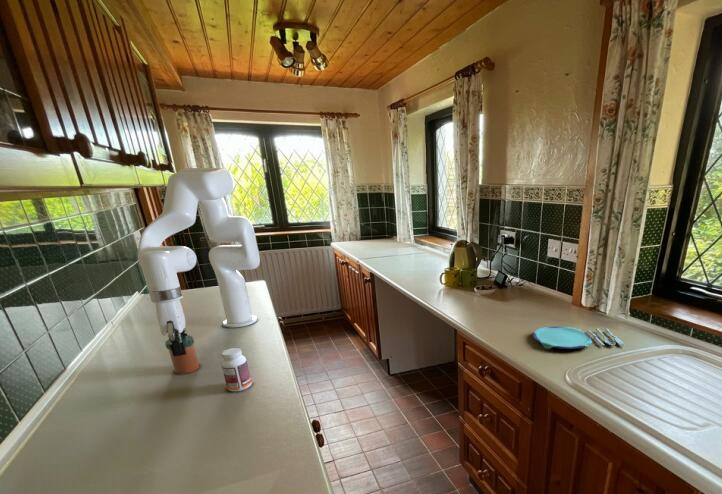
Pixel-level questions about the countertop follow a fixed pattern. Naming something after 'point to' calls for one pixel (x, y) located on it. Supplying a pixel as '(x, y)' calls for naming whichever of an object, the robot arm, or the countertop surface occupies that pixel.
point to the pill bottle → (235, 370)
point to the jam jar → (185, 361)
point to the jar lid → (185, 339)
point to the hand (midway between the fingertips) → (181, 350)
